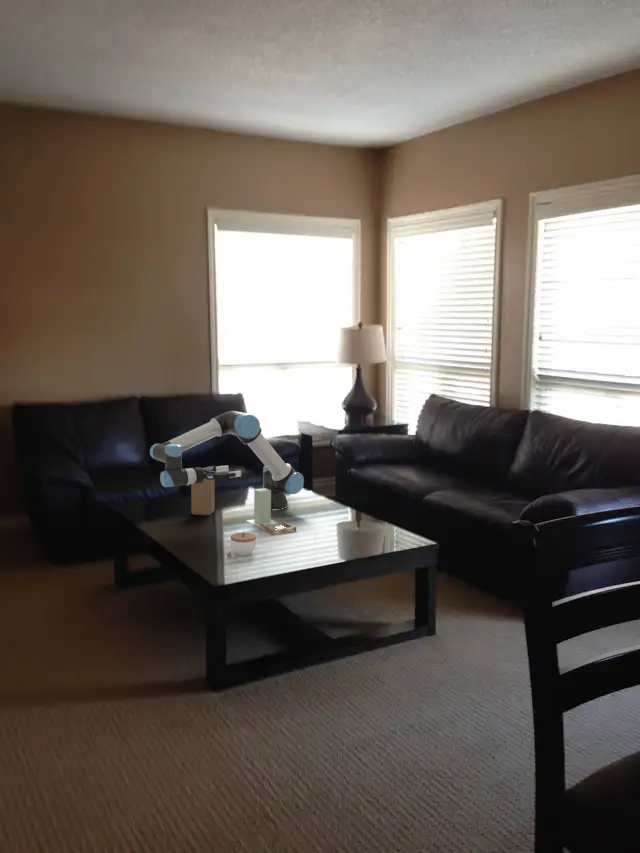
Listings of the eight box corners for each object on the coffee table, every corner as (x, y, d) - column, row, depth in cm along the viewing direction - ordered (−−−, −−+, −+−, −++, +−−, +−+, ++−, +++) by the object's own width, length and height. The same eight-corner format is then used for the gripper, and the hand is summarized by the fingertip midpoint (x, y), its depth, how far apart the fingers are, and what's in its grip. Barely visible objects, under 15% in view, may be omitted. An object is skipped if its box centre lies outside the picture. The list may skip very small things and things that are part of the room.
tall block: (264, 519, 371) (265, 488, 369) (270, 522, 366) (271, 490, 364) (254, 521, 368) (254, 489, 366) (259, 524, 363) (260, 491, 361)
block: (214, 511, 388) (215, 473, 385) (210, 515, 378) (210, 477, 376) (196, 510, 389) (196, 472, 386) (190, 515, 379) (190, 476, 377)
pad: (267, 518, 376) (267, 517, 376) (279, 524, 366) (279, 523, 366) (246, 521, 369) (246, 520, 369) (257, 527, 359) (257, 526, 359)
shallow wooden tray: (282, 525, 363) (282, 520, 363) (296, 532, 352) (296, 527, 352) (259, 529, 357) (259, 523, 356) (273, 536, 346) (273, 530, 345)
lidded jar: (260, 553, 319) (261, 532, 318) (241, 559, 311) (242, 537, 310) (244, 548, 326) (244, 527, 325) (225, 553, 319) (225, 532, 317)
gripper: (183, 478, 361) (223, 473, 373) (204, 489, 340) (246, 483, 352) (182, 463, 360) (223, 458, 371) (204, 472, 339) (246, 467, 351)
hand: (234, 470), depth 362 cm, fingers open, 13 cm apart
